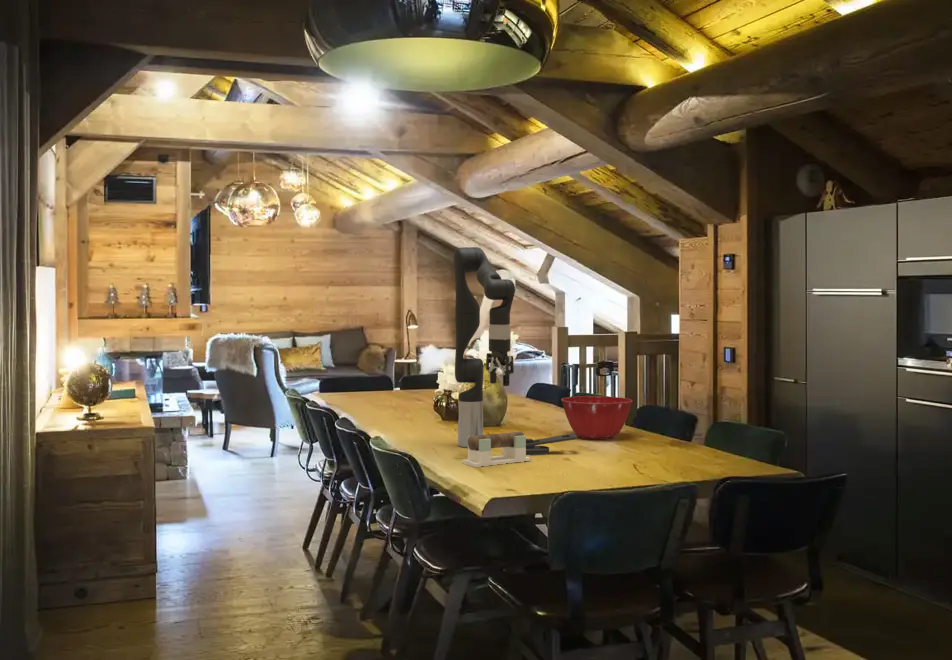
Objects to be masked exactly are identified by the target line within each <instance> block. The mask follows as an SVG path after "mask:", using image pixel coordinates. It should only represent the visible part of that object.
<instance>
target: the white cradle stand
mask: <svg viewBox="0 0 952 660" xmlns="http://www.w3.org/2000/svg"><path fill="white" fill-rule="evenodd" d="M469 437H470V436H468V438H469ZM526 439H527V436H526V435H525V434H524V435H523V436H514V446H511V447H501V448H502V451H501V452H502V454H501V455H495V456H492V453H491V451H492V448H491V439H479V450H470V449H469V446H468V447H467V458H465V459H462V461H461V462H462V464H464V465H466V466H467V465H468V466H470V467H473V468H482V467H481V466H484V467H490V466H489V465H493V466H498V465H497V464H503V465H507V464H506V463H512V464H514V463H513V462H521V463H525V462H524V461H530V462H532V461H531V457H529V456H526Z"/></svg>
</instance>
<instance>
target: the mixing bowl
mask: <svg viewBox="0 0 952 660" xmlns="http://www.w3.org/2000/svg"><path fill="white" fill-rule="evenodd" d="M632 402H633V400H632V399H631V398H626V397H618V396H604V395H603V396H602V395H601V396H599V395H598V396H596V395H595V396H594V395H591V396H590V395H589V396H587V395H585V396H584V395H581V396H569V397H562V398H561V403H562V408H563V410H564V412H565V413H564V414H565V416H566V419H567V422H568V423H569V425H570V428H571V430H572V431H573V432H574V434H575V435H576V436H579V438H581V439H585V440H586V439H588V440H610V439H613V438H614V437H616V436H617V435H618V434H619V433H620V432H621V431H622V429H623V428H624V426H625V423H626V421H627V418H628V416H629V413H630V410H631V406H632Z"/></svg>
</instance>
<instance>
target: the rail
mask: <svg viewBox="0 0 952 660" xmlns="http://www.w3.org/2000/svg"><path fill="white" fill-rule="evenodd" d="M523 435H524V436H525V433H524V432H523V431H513V432H512V431H511V432H503V433H502V432H500V433H491V434H490V433H488V434H483V435H477V436H470V437H469V438H468V446H469V449H470V450H479V439H491V449H499V448H503V447H511V446H514V436H523Z"/></svg>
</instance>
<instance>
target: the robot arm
mask: <svg viewBox="0 0 952 660" xmlns="http://www.w3.org/2000/svg"><path fill="white" fill-rule="evenodd" d="M453 270H454V285H455V306H454V307H455V308H454V309H455V310H454V311H455V312H454V313H455V314H454V315H455V317H454V322H455V323H454V324H455V355H454V356H455V357H454V378H455V381H456V382H457V383H461V384H465V383H467V384H468V383H469V384H470V383H471V384H472V383H473V384H474V385H473V386H472V387H471V388H469V389H467V390H463V391H462V392H459V393H458V421H457V439H458V440H457V445H458V447H462V448H468V436H477V435H484V390H483V388H484V386H483V385H484V372H485V370H484V367H485V369H486V371H488V373H489V383H490V384H491V385H492V384H497V371H498V369H499V370H500V371H501V373H502V386H503V387H509V386H510V377H511V376H510V375H512V374H514V356H513V355H508V353H509V352H511V351H512V350H511V345H512V343H511V341H512V339H511V310H512V304H513V301H514V298H515V293H516V286H515V282H514V281H513V280H511V279H506V278H505V279H502V277H501V275H500V274H499V272H497V271H496V270H495V268H493V267H492V265H491V262H490V260H489V258H488V257H487V255H486V253H485V252H484V250H483V249H482V248H481V247H477V246H471V247H470V246H469V247H465V246H464V247H463V246H462V247H457V248H455V249H454V252H453ZM466 273H476V280H477V282H478V283H479V284H480V285H481V287H483V290H484V296H485V298H487V299H488V300H492V301H501V304H500V305H497V306H494V307H493V306H492V307H491V308H490V309H489V320H488V321H489V327H488V351H489V352H488V353H486V355H485V356H486V360H485V361H486V362H485V363H486V364H485V366H484V361H483V359H482V358H474V357H473V358H470V357H469V358H465V357H464V354H465V352H466V350H467V347H468V345H469V344H470V342H471V340H472V338H473V337H474V335H475V334H476V332H477V331H478V329H479V327H480V325H481V323H480V322H481V312H480V311H481V308H480V305H479V302H478V300H477V299H476V297H475V296H474V294H473V293H472V291H471V290H470V288H469V286H468V283H467V280H466V279H467V278H466Z"/></svg>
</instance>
